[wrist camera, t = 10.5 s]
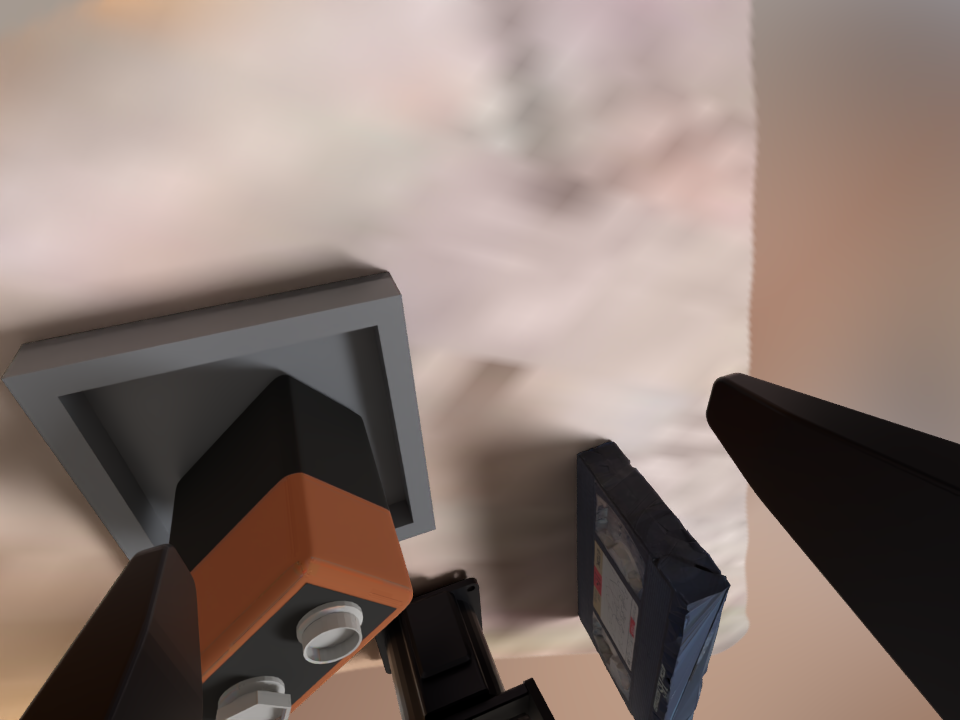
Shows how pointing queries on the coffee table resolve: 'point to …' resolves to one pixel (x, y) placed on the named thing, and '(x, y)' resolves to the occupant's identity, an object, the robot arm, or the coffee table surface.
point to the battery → (286, 552)
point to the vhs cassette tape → (643, 588)
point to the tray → (221, 395)
